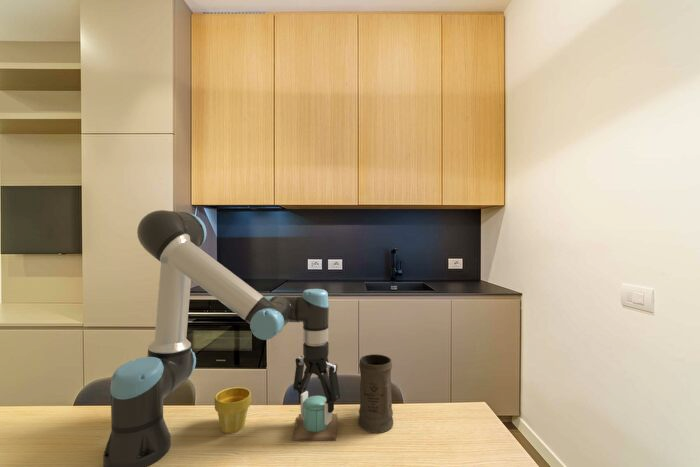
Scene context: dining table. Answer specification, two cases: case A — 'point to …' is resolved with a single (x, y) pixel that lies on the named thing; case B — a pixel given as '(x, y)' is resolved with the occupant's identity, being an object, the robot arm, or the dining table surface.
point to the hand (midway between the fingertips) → (316, 418)
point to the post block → (323, 435)
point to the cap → (314, 414)
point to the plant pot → (232, 408)
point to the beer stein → (375, 394)
